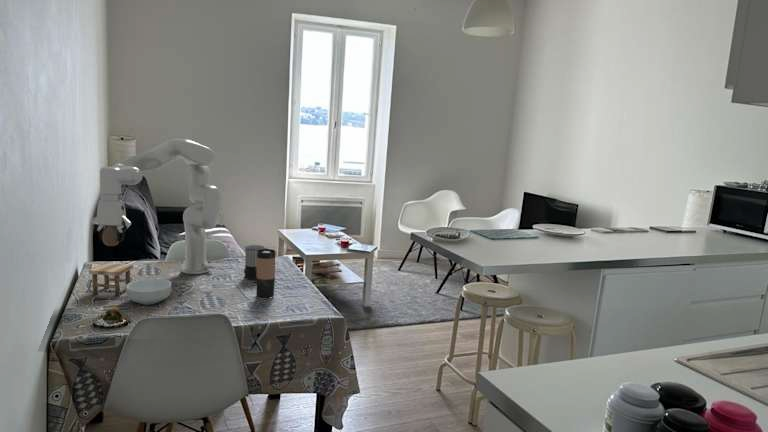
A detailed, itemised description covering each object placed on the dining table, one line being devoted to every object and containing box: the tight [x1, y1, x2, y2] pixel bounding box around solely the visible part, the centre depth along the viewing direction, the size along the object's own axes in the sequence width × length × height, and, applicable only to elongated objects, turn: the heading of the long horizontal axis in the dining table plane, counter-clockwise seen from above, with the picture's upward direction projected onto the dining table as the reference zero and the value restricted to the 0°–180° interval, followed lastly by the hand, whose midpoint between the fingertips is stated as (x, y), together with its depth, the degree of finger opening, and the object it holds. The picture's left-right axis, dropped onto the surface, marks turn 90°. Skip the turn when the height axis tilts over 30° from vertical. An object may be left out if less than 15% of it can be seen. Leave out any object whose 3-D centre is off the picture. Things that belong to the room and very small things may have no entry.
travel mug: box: [255, 248, 276, 299], centre depth 228 cm, size 8×8×20 cm
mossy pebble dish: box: [92, 306, 131, 328], centre depth 190 cm, size 12×12×8 cm
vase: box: [102, 225, 120, 247], centre depth 219 cm, size 7×7×9 cm
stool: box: [88, 262, 134, 298], centre depth 222 cm, size 12×12×10 cm
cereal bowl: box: [125, 278, 172, 305], centre depth 214 cm, size 17×17×7 cm
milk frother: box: [243, 244, 268, 280], centre depth 259 cm, size 14×16×15 cm
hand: (111, 240), depth 220 cm, fingers closed on vase, 7 cm apart
